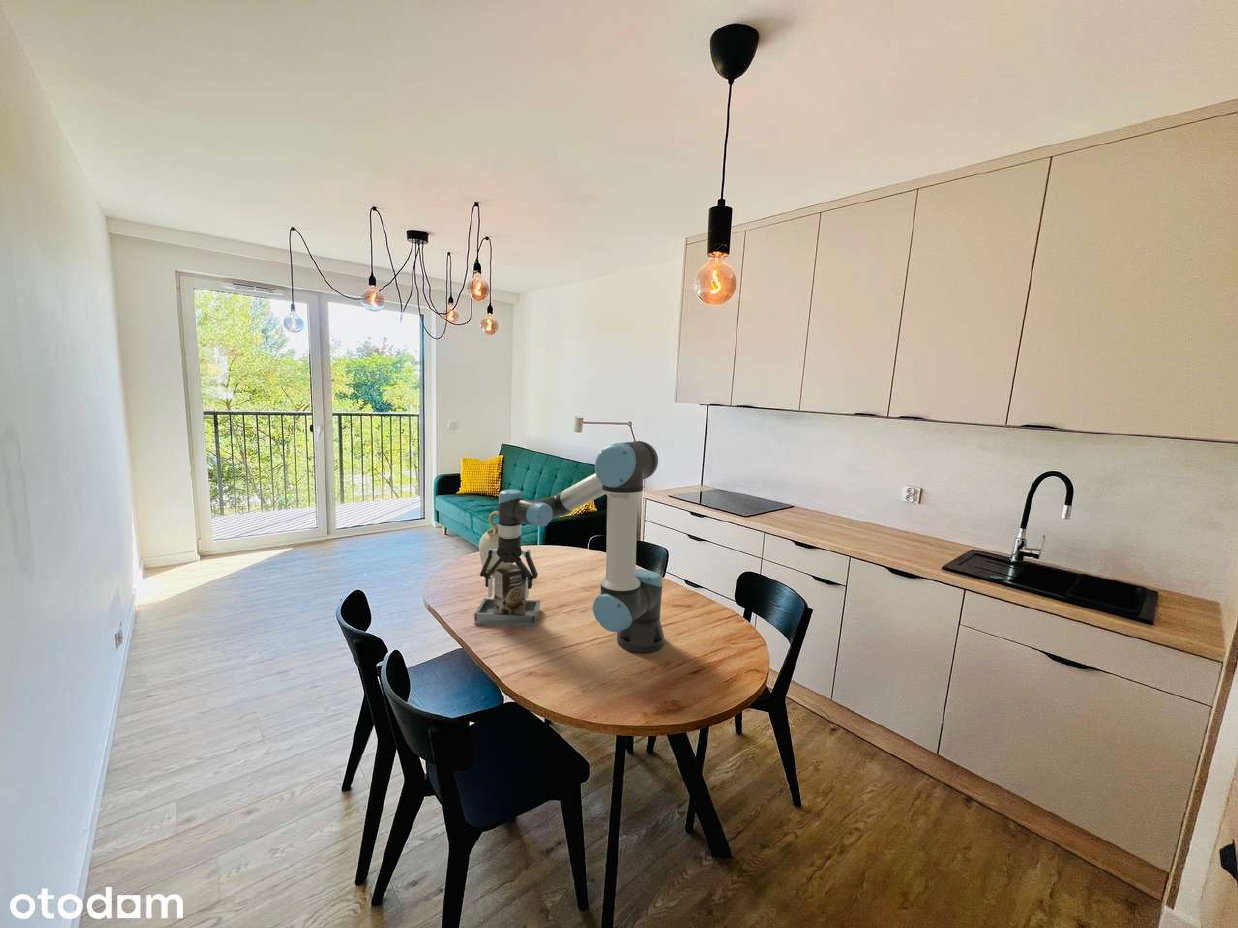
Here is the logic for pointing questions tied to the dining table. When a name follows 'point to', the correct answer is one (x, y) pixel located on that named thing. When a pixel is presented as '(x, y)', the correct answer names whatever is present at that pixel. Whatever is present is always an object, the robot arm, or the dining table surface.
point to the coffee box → (509, 591)
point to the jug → (491, 544)
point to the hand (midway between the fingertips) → (508, 596)
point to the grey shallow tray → (489, 617)
